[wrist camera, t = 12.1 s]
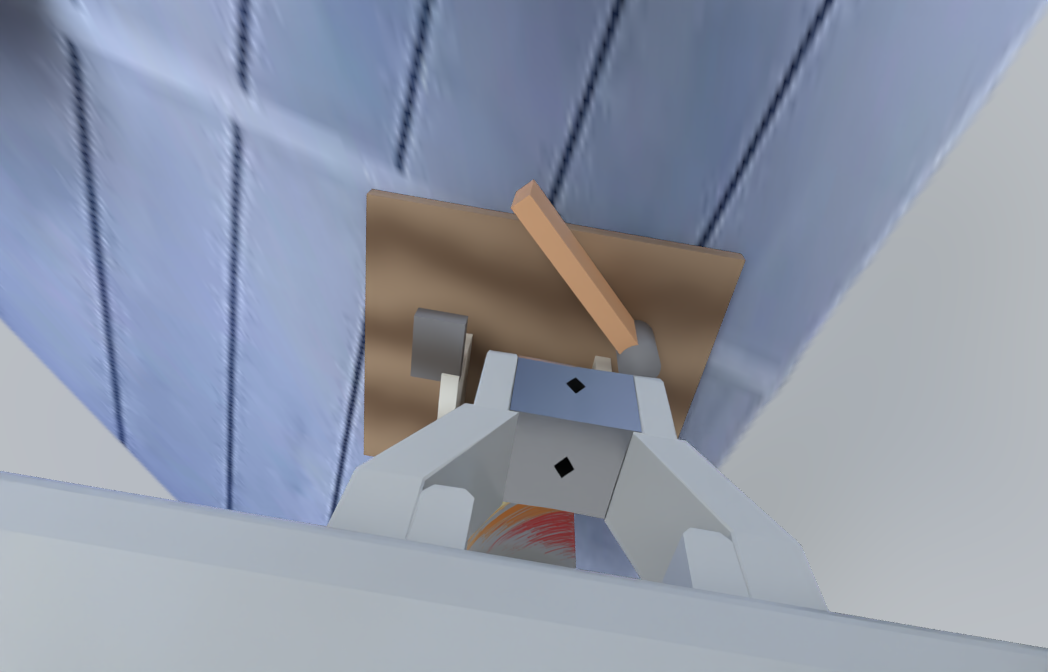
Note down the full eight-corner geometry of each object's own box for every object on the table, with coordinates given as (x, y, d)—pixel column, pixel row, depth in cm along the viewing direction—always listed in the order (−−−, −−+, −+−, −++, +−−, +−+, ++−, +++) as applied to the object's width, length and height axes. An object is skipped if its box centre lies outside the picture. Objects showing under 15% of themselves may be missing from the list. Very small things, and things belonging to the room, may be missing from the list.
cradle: (372, 189, 33) (334, 222, 28) (741, 253, 33) (771, 298, 28) (368, 445, 43) (339, 505, 38) (651, 494, 43) (661, 560, 38)
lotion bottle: (538, 439, 40) (526, 761, 23) (469, 402, 39) (399, 713, 21) (585, 384, 38) (613, 697, 20) (513, 342, 36) (475, 637, 19)
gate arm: (660, 341, 35) (668, 372, 32) (627, 359, 36) (632, 391, 33) (542, 172, 31) (539, 190, 28) (507, 197, 31) (500, 217, 28)
